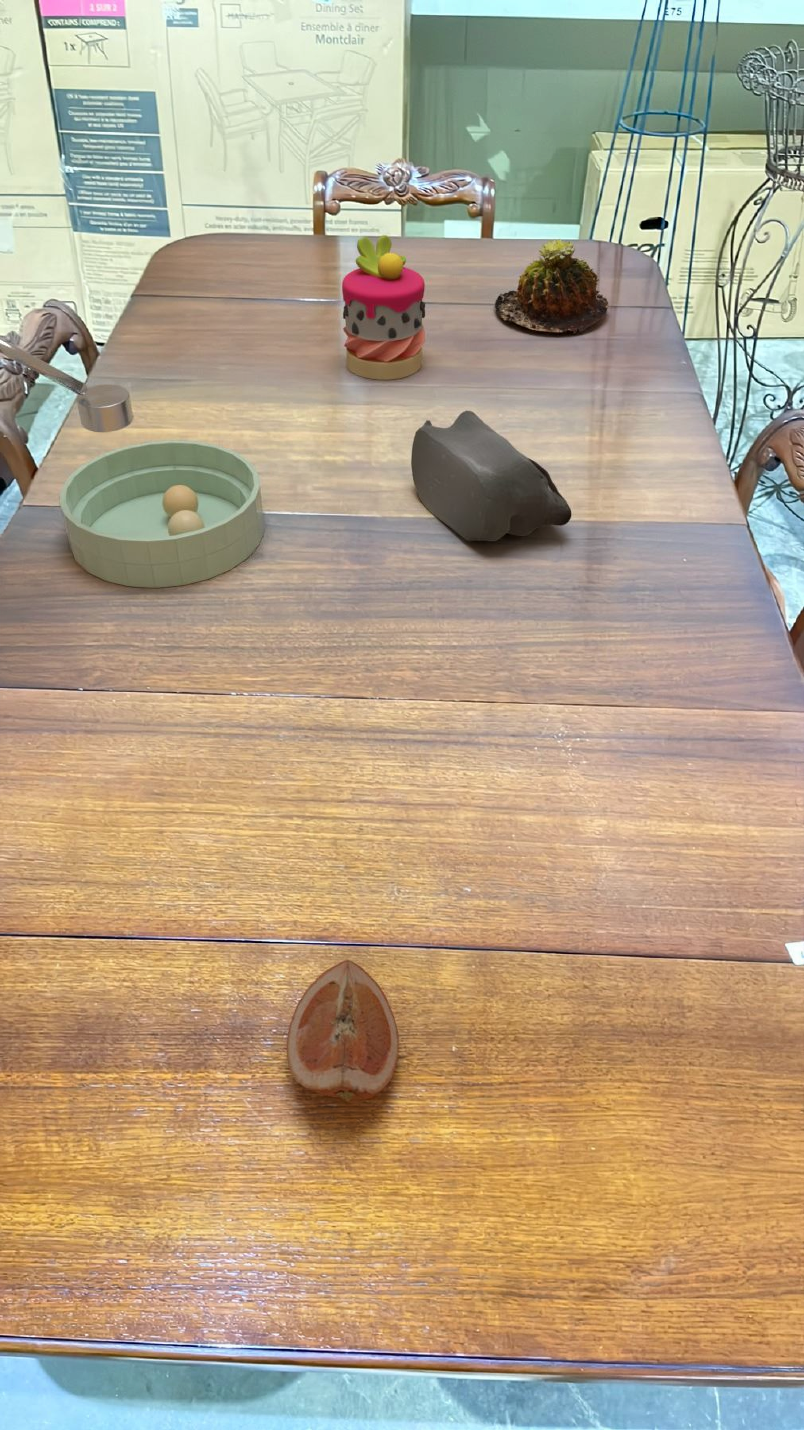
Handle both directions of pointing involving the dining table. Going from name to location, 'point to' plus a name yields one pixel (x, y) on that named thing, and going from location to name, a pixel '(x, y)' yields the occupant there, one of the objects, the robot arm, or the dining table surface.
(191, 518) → the dumpling
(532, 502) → the rock
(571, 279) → the cactus
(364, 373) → the cake
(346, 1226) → the dining table surface
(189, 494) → the dumpling
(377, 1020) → the fruit slice
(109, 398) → the ladle
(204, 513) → the bowl
